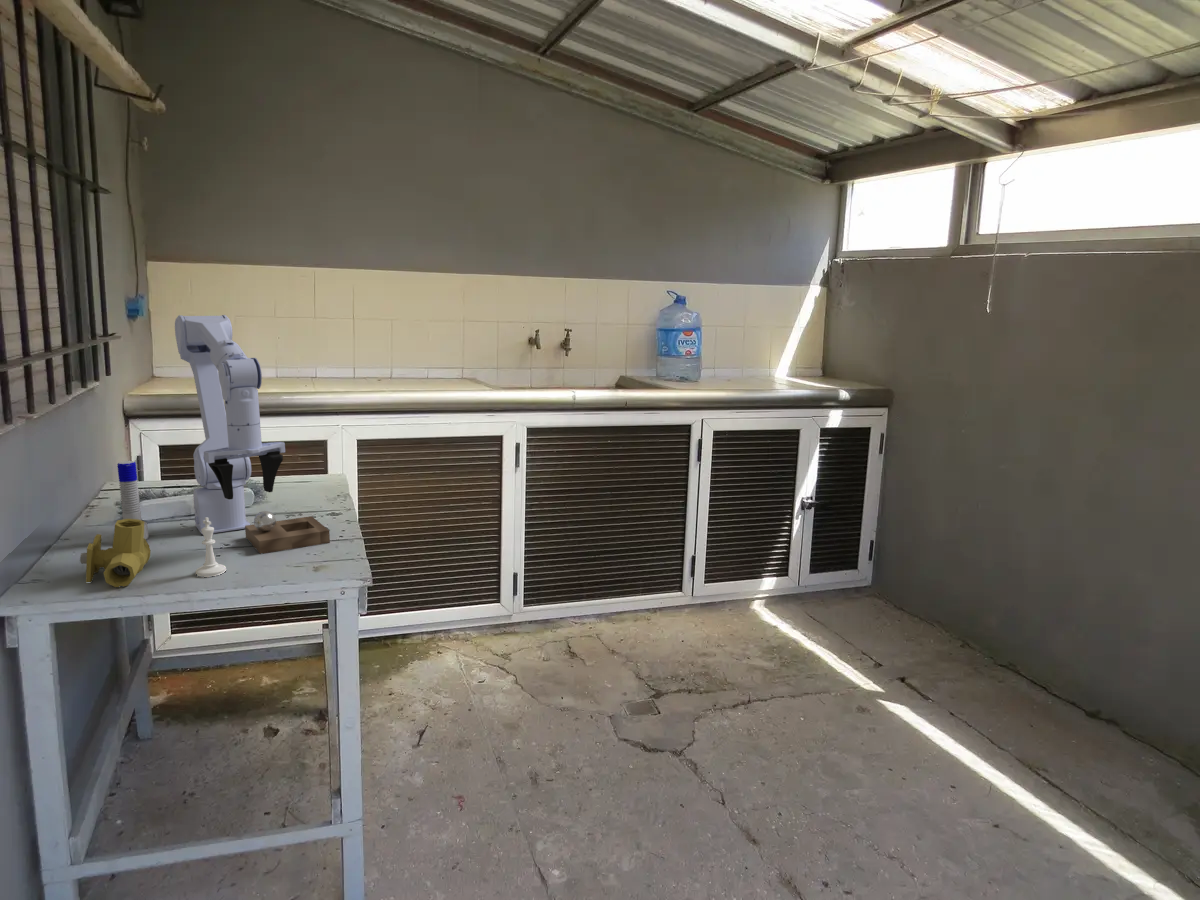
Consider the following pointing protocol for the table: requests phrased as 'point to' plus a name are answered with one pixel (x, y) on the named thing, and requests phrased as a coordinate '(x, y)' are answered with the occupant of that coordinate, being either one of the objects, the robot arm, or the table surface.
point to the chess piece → (209, 554)
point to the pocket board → (288, 535)
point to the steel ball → (264, 521)
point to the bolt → (130, 492)
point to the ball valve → (118, 554)
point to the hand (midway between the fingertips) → (249, 494)
